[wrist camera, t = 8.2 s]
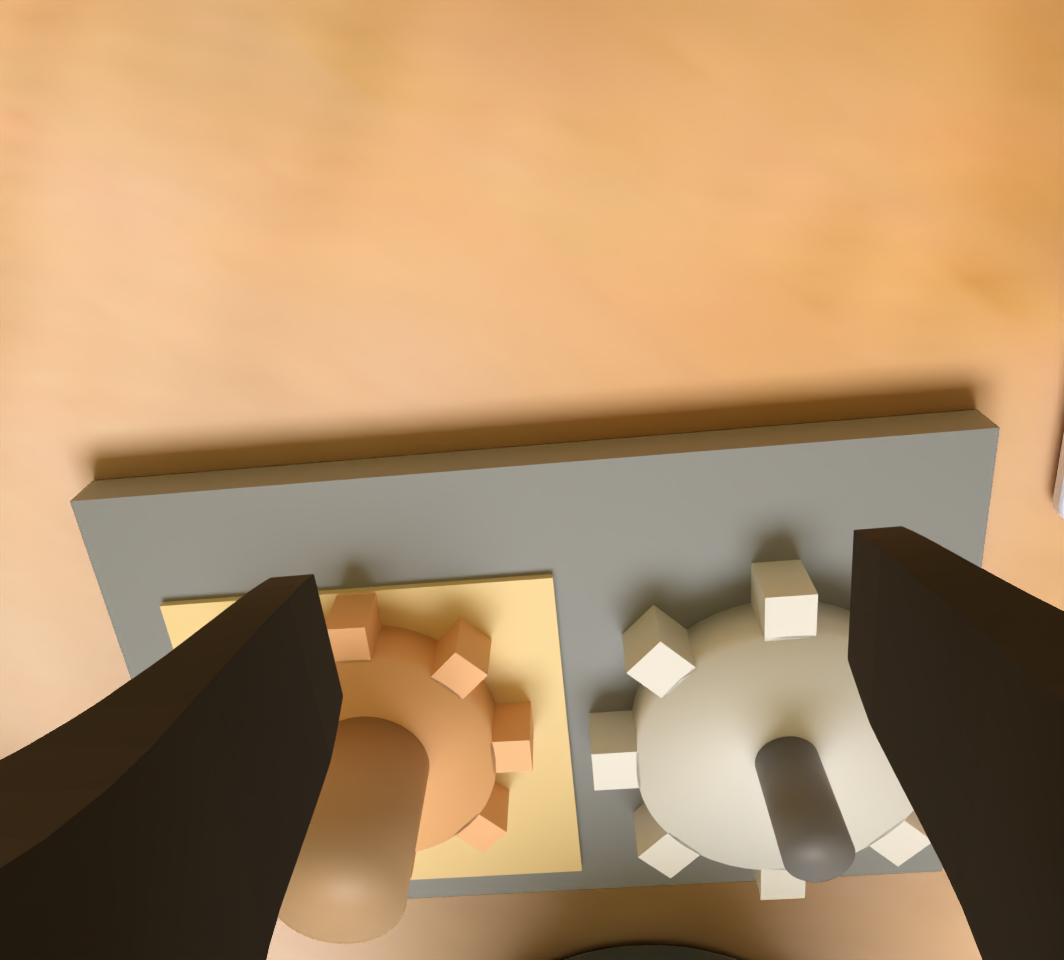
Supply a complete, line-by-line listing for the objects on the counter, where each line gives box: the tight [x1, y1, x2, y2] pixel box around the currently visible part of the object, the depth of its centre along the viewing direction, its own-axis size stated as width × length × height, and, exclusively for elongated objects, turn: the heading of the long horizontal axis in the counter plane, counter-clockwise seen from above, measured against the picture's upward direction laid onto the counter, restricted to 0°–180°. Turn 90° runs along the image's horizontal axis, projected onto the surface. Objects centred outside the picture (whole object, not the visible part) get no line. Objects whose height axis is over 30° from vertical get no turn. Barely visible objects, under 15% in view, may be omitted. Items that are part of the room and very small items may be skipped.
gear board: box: [70, 409, 999, 900], centre depth 23 cm, size 22×14×6 cm, turn 95°
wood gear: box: [278, 593, 534, 944], centre depth 22 cm, size 8×8×6 cm
